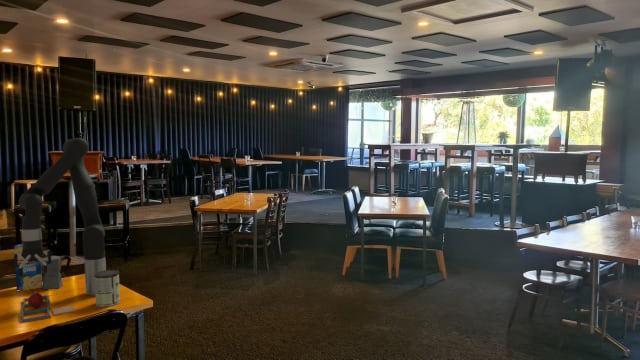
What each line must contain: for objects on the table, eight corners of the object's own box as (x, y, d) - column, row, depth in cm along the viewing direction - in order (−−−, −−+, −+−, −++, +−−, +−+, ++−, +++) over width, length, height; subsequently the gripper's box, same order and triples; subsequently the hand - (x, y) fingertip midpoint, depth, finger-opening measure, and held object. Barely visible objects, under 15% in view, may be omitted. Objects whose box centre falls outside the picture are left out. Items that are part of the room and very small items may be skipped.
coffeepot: (37, 291, 234) (35, 255, 233) (38, 286, 243) (36, 252, 241) (72, 287, 241) (70, 252, 240) (72, 282, 250) (70, 248, 248)
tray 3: (48, 310, 207) (48, 308, 207) (50, 317, 198) (50, 314, 198) (21, 315, 201) (21, 312, 201) (22, 322, 193) (22, 319, 193)
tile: (72, 306, 212) (72, 305, 212) (75, 311, 205) (74, 310, 205) (52, 310, 207) (52, 308, 207) (53, 315, 201) (53, 314, 200)
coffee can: (96, 300, 220) (95, 270, 219) (121, 298, 223) (119, 268, 222) (93, 308, 210) (92, 276, 209) (119, 305, 213) (118, 274, 212)
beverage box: (42, 288, 240) (40, 245, 238) (16, 291, 235) (14, 247, 233) (42, 285, 246) (40, 242, 244) (17, 288, 240) (14, 245, 239)
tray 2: (48, 303, 216) (48, 301, 216) (50, 310, 208) (50, 307, 208) (22, 308, 211) (22, 305, 210) (23, 314, 202) (23, 311, 202)
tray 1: (48, 297, 225) (48, 294, 225) (49, 303, 217) (49, 300, 217) (23, 301, 220) (23, 298, 220) (24, 307, 211) (23, 304, 211)
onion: (32, 307, 212) (31, 289, 211) (46, 306, 212) (45, 289, 212) (25, 311, 206) (24, 293, 205) (39, 311, 206) (38, 292, 206)
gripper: (50, 235, 217) (51, 270, 218) (13, 238, 210) (14, 275, 211) (50, 238, 211) (52, 274, 212) (12, 241, 204) (14, 279, 205)
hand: (33, 274), depth 211 cm, fingers open, 8 cm apart
